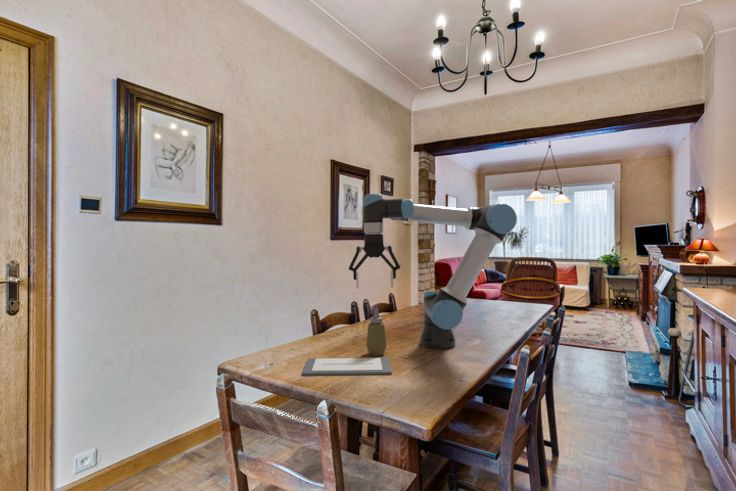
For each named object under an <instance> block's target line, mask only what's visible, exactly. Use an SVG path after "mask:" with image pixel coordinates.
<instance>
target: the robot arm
mask: <svg viewBox="0 0 736 491" xmlns="http://www.w3.org/2000/svg"><path fill="white" fill-rule="evenodd" d="M362 208H363V233H364V235H363V239H364V240H363V241H364V244H363V246H356V249H355V250H356V251H355V254H354V256H353V258H352V260H351V262H350V263H349V264H350V265H349V267H348V271H352V273H353V280H354V281H356V289H359V286H360V285H359V271H358V269H360V267H361V266H362V265H363V264H364V262H365V261H366V260H367V259H368V258H379V257H381V258H382V260H383V261H385V263H386V265H387V266H389V267H390V268H391V270H390V273H389V274H390V288H394V280H396V278H397V271H398V270H401V266H400V263H399V262H398V260H397V258H396V256H395V254H394V253H393V248H392V245H388V246H385V244H384V235H383V233H384V219H390V220H392V221H404V222H406V221H407V222H413V223H414V222H416V223H424V224H425V223H427V224H435V225H444V226H445V225H446V226H454V227H464V228H465V229H466V230H468V231H469V230H470V231H475V235H474V237H473V238H472V240H471V242H470V244H469V246H468V247H467V249H466V251H465V252H464V254H463V256H462V258H461V260H460V262H458V265H457V267H456V268H455V271H454V273H453V274H452V276H451V277H450V279H449V280H448V282H447V285H446V286H444V287H440V289H439V290H436V291H435V290H431V291H430V290H427V291H424V293H423V328H422V331H421V333H420V337H419V345H421V346H422V347H424V348H429V349H437V350H439V349H440V350H441V349H442V350H444V349H445V350H446V349H450V348H454V347H455V346H456V338H455V334H454V332H453V329H455V328H457V327H458V326H459V325H460V324H461V322H462V320H463V317H464V312H463V311H464V309H465V307H466V306H467V304H468V302H467V301H468V300H467V296H468V295H469V292H470V290H471V289H472V287H473V285H474V284H475V282H476V280H477V278H479V275H480V273H481V271H482V269H483V268H484V266H485V264H486V262H487V261H488V259H489V258H490V256H491V253H492V252H493V250H494V248H495V247H496V245H498V244H501V243H502V242H503V241H504V239H505V237H506V236H507V234H508V233H510V232H512V231H513V229H514V228H515V227H516V225H517V222H518V219H517V213H516V211H515V210H514V208H513V207H512V206H510V205H509V204H507V203H502V202H496V203H493V204H490V205H486V206H481V207H471V206H469V207H467V208H457V207H448V206H438V205H428V204H417V203H414V201H413V200H412V199H411V198H396V199H394V198H393V199H391V198H390V199H387V198H386V199H385V198H384V197H383V195H382V194H380V193H370V194H365V195H364V196H363V206H362ZM385 250H386V252H387V253H389V255H390V257H391V259H392V261H393V263H394V265H393V264H392V262H391V261H390V260H389V259H388V258H387V257H386V256H385V255H384V254H383V253H384V251H385ZM362 251H363V252H364V253H365V254H364V255H363V256H362V258H361V259H360V260H359V262H357V264H356V265H355V263H356V261H357V258H358V257H359V254H360V253H362ZM354 265H355V266H354Z"/></svg>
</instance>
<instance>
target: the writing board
mask: <svg viewBox="0 0 736 491" xmlns="http://www.w3.org/2000/svg"><path fill="white" fill-rule="evenodd" d="M392 373H393V371H392V368H391V365H390V360H389V357H388V356H387V357H385V356H383V357H380V356H375V357H374V356H373V357H317V358H316V357H312V358H311V357H309V358H307V360H306V363H305V366H304V368H303V370H302V373H301V375H302V376H308V377H309V376H362V375H363V376H365V375H366V376H372V375H380V376H381V375H384V376H385V375H392Z"/></svg>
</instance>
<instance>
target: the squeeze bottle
mask: <svg viewBox="0 0 736 491" xmlns="http://www.w3.org/2000/svg"><path fill="white" fill-rule="evenodd" d="M372 315H373V316H372V317H370V322H369V323H368V326H367V335H366V348H367V352H368V354H369V355H370V356H373V357H374V356H375V357H380V356H383V355H384V354H385V352H386V348H387V336H386V327H385V323H384V322H383V317H381V316H380V312H379V308H378V307H377V308H374V312H373V314H372Z"/></svg>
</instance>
